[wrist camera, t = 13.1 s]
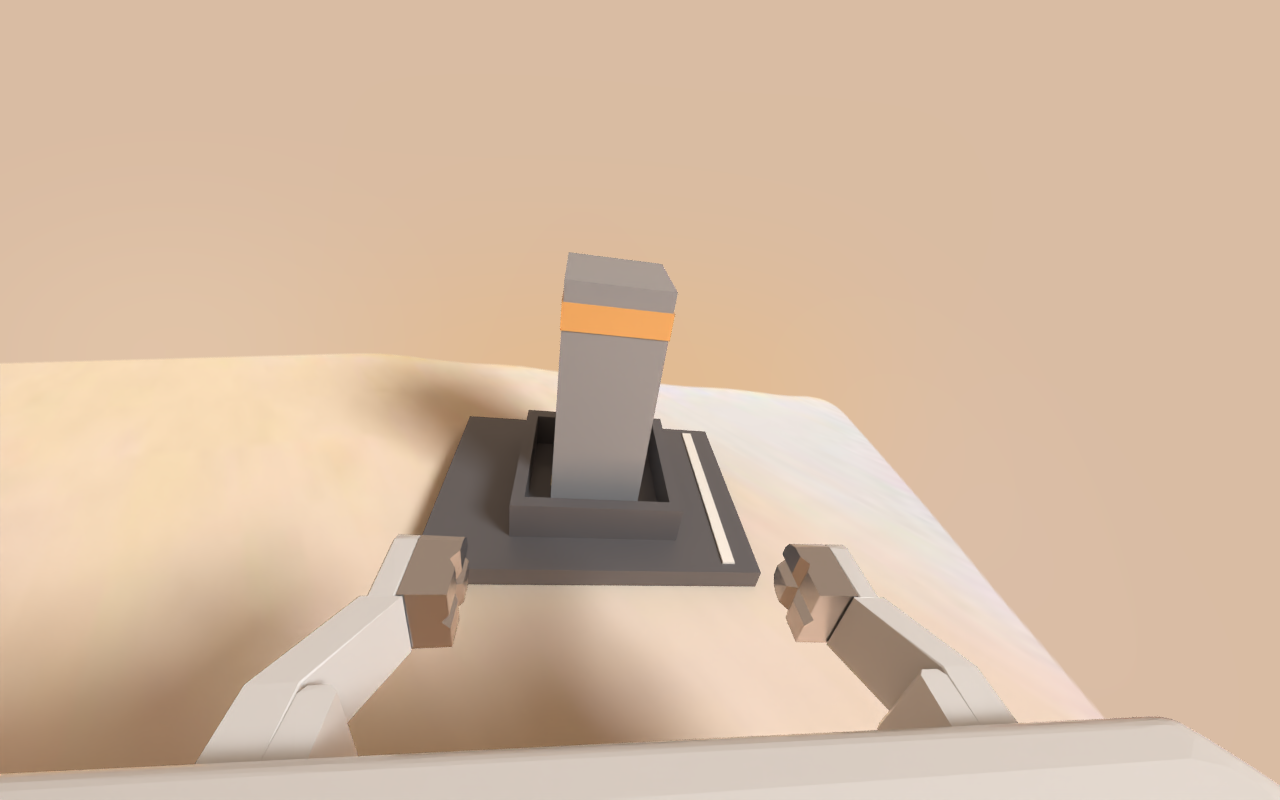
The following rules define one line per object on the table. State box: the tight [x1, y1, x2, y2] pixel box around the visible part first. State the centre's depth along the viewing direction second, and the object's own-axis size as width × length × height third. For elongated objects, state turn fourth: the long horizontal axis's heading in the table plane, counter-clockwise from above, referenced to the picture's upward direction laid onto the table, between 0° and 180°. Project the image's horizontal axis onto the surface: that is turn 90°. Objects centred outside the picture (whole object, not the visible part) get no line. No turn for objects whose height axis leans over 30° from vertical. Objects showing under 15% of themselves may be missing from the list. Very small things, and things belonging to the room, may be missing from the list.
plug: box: [551, 253, 678, 501], centre depth 23 cm, size 5×5×12 cm
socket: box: [422, 410, 761, 586], centre depth 25 cm, size 16×12×3 cm
